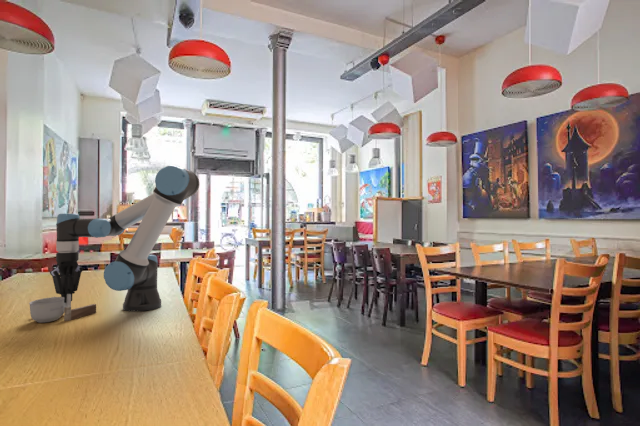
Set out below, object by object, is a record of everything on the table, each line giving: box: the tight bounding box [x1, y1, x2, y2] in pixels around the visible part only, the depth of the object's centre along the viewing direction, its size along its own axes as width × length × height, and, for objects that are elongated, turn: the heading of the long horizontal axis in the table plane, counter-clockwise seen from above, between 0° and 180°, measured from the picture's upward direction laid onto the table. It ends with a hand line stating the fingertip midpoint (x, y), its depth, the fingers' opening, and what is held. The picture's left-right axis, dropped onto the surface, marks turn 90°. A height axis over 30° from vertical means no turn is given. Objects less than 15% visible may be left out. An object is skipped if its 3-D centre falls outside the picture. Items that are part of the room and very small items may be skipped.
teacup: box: [28, 296, 65, 324], centre depth 143 cm, size 14×11×8 cm
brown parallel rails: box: [63, 303, 97, 322], centre depth 150 cm, size 17×13×5 cm
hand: (66, 310), depth 150 cm, fingers closed
